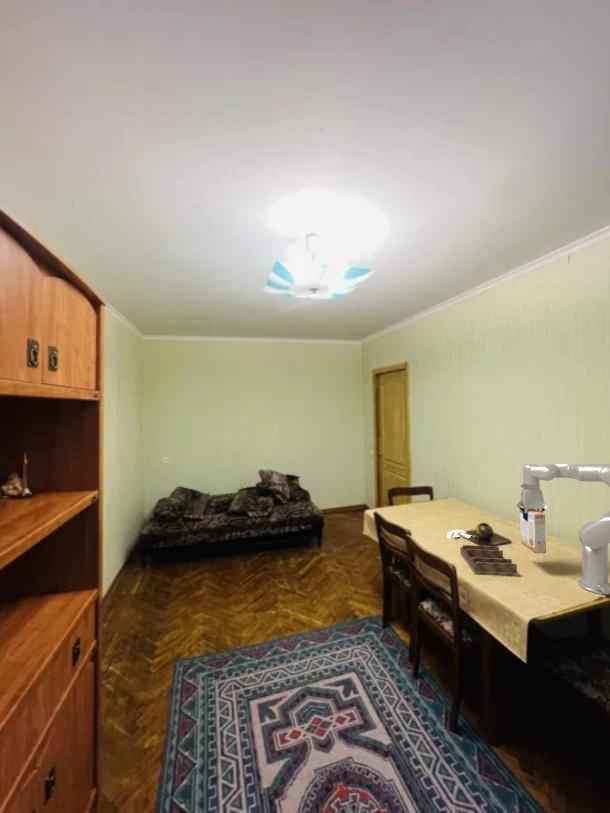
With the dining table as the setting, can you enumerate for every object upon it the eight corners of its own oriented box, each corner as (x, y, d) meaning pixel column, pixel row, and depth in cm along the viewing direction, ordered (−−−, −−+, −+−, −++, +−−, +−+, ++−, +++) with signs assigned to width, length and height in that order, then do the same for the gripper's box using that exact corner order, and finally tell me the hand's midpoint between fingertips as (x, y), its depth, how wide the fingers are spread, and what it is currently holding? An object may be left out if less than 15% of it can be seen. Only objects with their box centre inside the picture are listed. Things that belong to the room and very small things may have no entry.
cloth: (463, 530, 242) (463, 526, 242) (483, 542, 220) (483, 538, 220) (437, 531, 239) (437, 528, 239) (454, 544, 217) (454, 540, 217)
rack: (499, 555, 199) (499, 545, 199) (519, 576, 175) (519, 565, 175) (460, 554, 202) (460, 544, 202) (474, 574, 178) (474, 563, 178)
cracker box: (547, 553, 176) (545, 514, 176) (534, 553, 176) (533, 514, 176) (531, 543, 190) (530, 506, 190) (520, 542, 190) (519, 506, 190)
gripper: (517, 488, 181) (518, 521, 180) (552, 488, 178) (553, 522, 178) (511, 485, 188) (512, 517, 188) (544, 485, 186) (545, 518, 185)
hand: (532, 519), depth 183 cm, fingers closed on cracker box, 6 cm apart
